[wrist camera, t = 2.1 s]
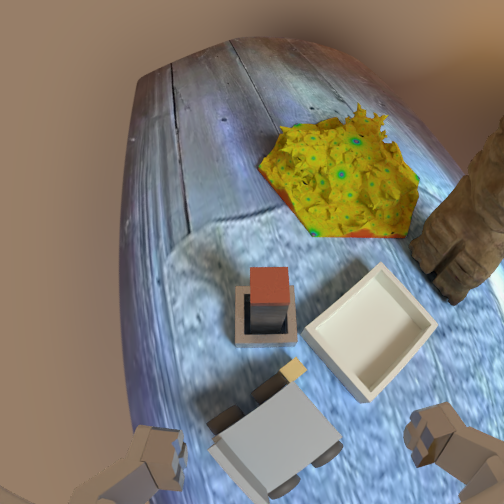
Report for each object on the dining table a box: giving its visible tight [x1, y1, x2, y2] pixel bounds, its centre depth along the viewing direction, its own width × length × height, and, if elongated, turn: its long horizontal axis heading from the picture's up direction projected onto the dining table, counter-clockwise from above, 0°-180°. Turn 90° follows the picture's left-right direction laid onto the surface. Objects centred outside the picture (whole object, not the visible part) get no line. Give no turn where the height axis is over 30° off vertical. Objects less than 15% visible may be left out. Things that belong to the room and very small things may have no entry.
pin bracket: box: [235, 285, 298, 348], centre depth 36 cm, size 7×7×2 cm
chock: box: [277, 357, 307, 385], centre depth 33 cm, size 2×2×2 cm
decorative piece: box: [258, 103, 420, 238], centre depth 47 cm, size 26×8×30 cm
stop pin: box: [250, 267, 290, 334], centre depth 32 cm, size 4×4×11 cm
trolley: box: [207, 372, 343, 504], centre depth 25 cm, size 10×11×12 cm
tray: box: [300, 262, 438, 404], centre depth 34 cm, size 14×12×3 cm
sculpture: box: [409, 116, 504, 306], centre depth 28 cm, size 12×9×30 cm
